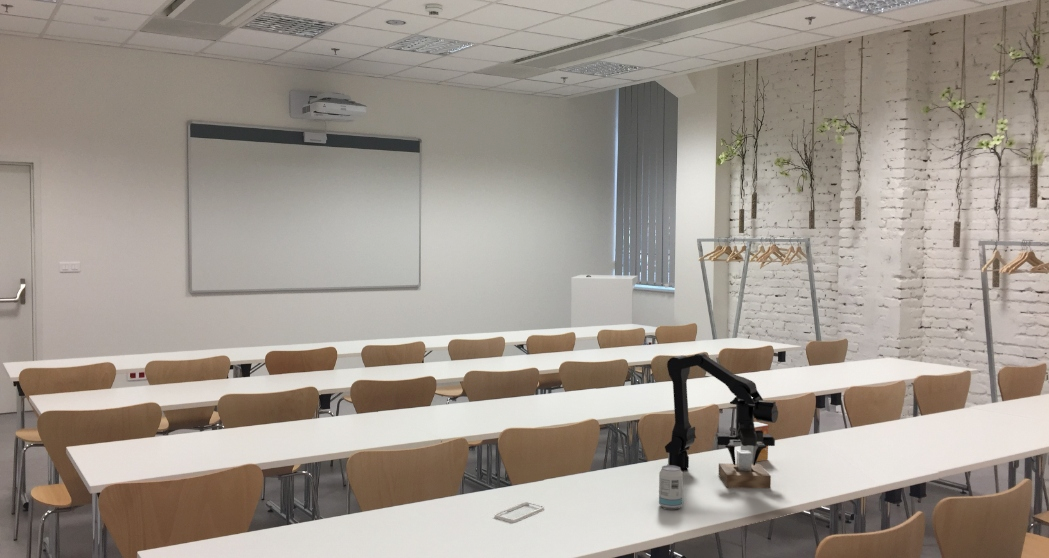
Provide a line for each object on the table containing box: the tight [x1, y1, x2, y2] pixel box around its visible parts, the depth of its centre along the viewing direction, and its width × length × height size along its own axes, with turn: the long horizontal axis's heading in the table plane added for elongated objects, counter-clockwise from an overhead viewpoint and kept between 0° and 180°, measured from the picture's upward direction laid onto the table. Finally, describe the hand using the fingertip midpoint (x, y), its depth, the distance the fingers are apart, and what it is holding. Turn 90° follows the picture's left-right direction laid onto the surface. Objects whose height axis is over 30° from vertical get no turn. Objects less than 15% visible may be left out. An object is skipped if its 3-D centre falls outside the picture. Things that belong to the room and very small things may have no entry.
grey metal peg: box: [736, 449, 753, 472], centre depth 270 cm, size 4×4×10 cm
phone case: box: [494, 501, 545, 523], centre depth 237 cm, size 7×1×15 cm
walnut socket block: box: [718, 462, 772, 489], centre depth 270 cm, size 14×14×4 cm
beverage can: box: [658, 465, 684, 511], centre depth 243 cm, size 7×7×12 cm
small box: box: [740, 421, 770, 463], centre depth 297 cm, size 8×6×13 cm
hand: (744, 465), depth 270 cm, fingers open, 6 cm apart
